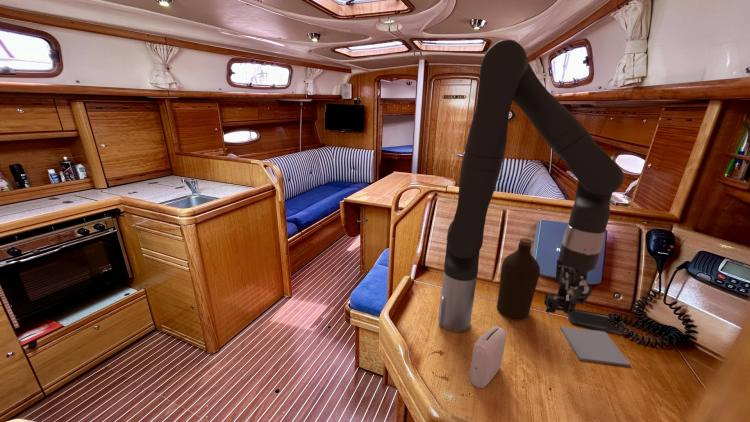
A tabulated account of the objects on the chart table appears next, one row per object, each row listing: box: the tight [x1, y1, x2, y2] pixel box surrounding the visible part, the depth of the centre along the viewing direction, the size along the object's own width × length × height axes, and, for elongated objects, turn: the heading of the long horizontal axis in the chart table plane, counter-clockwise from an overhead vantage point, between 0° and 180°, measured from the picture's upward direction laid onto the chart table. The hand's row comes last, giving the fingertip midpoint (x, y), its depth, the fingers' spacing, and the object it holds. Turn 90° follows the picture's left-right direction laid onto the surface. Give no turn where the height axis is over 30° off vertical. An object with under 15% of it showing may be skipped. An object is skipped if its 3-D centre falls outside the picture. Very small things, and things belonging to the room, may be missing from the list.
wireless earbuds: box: [543, 292, 566, 314], centre depth 75 cm, size 5×7×3 cm, turn 79°
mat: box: [560, 326, 631, 367], centre depth 83 cm, size 12×12×1 cm
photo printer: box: [468, 325, 507, 389], centre depth 72 cm, size 10×4×12 cm, turn 133°
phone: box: [566, 308, 629, 336], centre depth 92 cm, size 8×1×15 cm
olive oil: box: [496, 237, 541, 321], centre depth 93 cm, size 11×11×25 cm
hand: (564, 307), depth 75 cm, fingers closed on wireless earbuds, 3 cm apart
